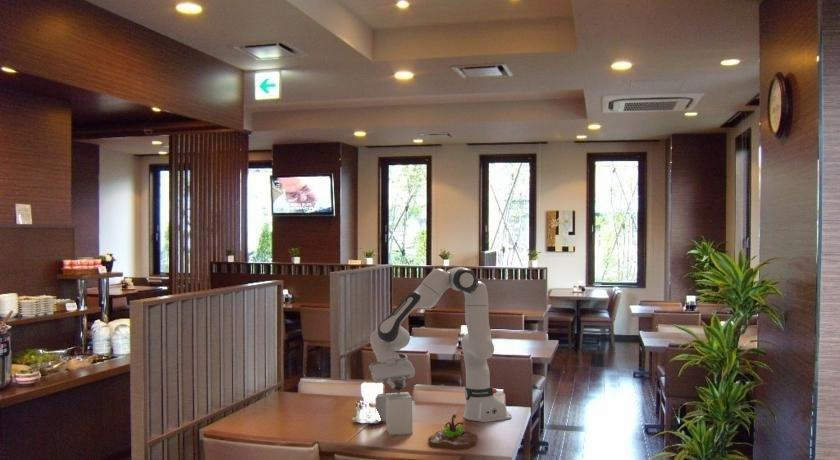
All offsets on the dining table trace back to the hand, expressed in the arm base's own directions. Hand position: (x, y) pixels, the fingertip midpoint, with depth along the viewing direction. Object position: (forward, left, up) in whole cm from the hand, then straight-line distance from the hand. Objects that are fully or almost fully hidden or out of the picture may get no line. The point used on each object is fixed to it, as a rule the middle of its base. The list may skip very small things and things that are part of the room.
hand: (399, 387), depth 300 cm
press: (0, -1, -20) cm, 20 cm away
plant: (-19, +19, -20) cm, 34 cm away
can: (+4, -21, -20) cm, 29 cm away
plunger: (0, -1, -20) cm, 20 cm away
